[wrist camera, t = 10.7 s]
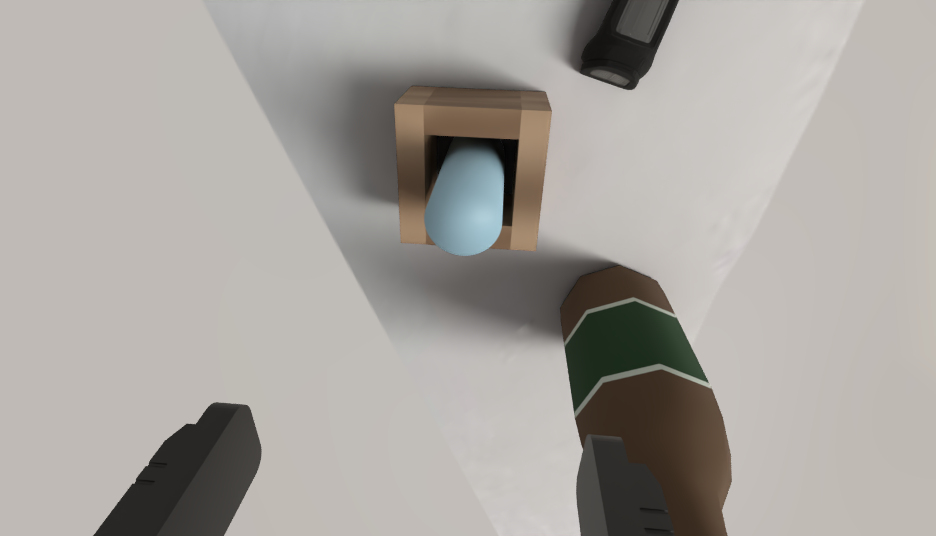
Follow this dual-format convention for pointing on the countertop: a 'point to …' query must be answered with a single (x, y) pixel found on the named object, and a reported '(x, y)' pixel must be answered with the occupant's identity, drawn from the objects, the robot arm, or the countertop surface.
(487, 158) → the peg
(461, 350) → the countertop surface
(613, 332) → the beer bottle
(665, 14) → the electric trimmer
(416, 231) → the socket block
